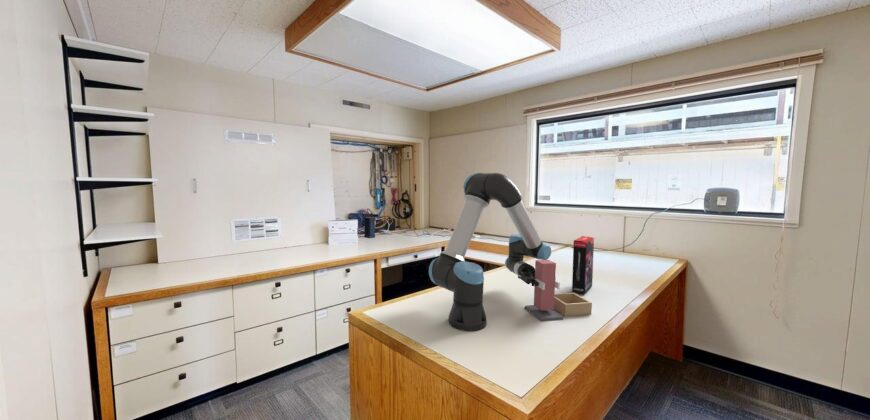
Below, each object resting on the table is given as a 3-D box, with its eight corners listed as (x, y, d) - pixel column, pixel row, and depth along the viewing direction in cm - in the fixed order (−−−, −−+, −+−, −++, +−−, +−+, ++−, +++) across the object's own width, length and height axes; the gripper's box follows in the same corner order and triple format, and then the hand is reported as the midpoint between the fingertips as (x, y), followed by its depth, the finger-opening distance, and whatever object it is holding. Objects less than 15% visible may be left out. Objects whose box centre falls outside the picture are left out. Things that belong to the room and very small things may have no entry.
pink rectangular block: (540, 310, 137) (542, 263, 135) (533, 305, 143) (535, 260, 141) (553, 309, 138) (555, 263, 137) (546, 304, 144) (548, 259, 142)
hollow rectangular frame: (565, 316, 138) (565, 304, 138) (548, 304, 151) (549, 294, 150) (591, 313, 141) (591, 302, 140) (573, 303, 153) (573, 292, 153)
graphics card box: (584, 295, 164) (587, 241, 162) (570, 292, 168) (573, 239, 166) (592, 286, 178) (595, 237, 175) (578, 284, 182) (581, 235, 179)
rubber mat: (541, 321, 133) (541, 318, 133) (524, 307, 147) (524, 305, 147) (563, 319, 135) (563, 316, 135) (545, 306, 149) (545, 304, 149)
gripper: (542, 277, 160) (571, 293, 137) (506, 279, 156) (529, 296, 133) (543, 262, 159) (572, 276, 136) (506, 263, 155) (530, 278, 132)
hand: (551, 286), depth 135 cm, fingers closed on pink rectangular block, 6 cm apart
